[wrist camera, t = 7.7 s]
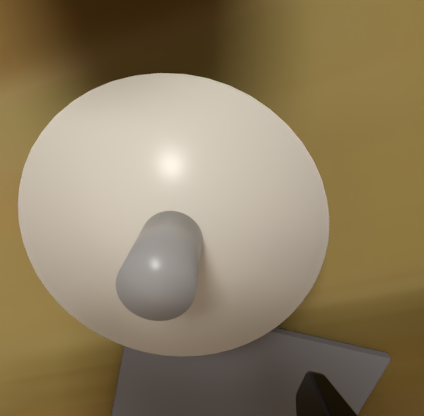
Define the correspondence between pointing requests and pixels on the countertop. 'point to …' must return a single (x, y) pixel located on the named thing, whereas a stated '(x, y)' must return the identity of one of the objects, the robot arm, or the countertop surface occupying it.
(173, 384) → the mat
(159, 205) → the lid
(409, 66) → the countertop surface
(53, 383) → the countertop surface
